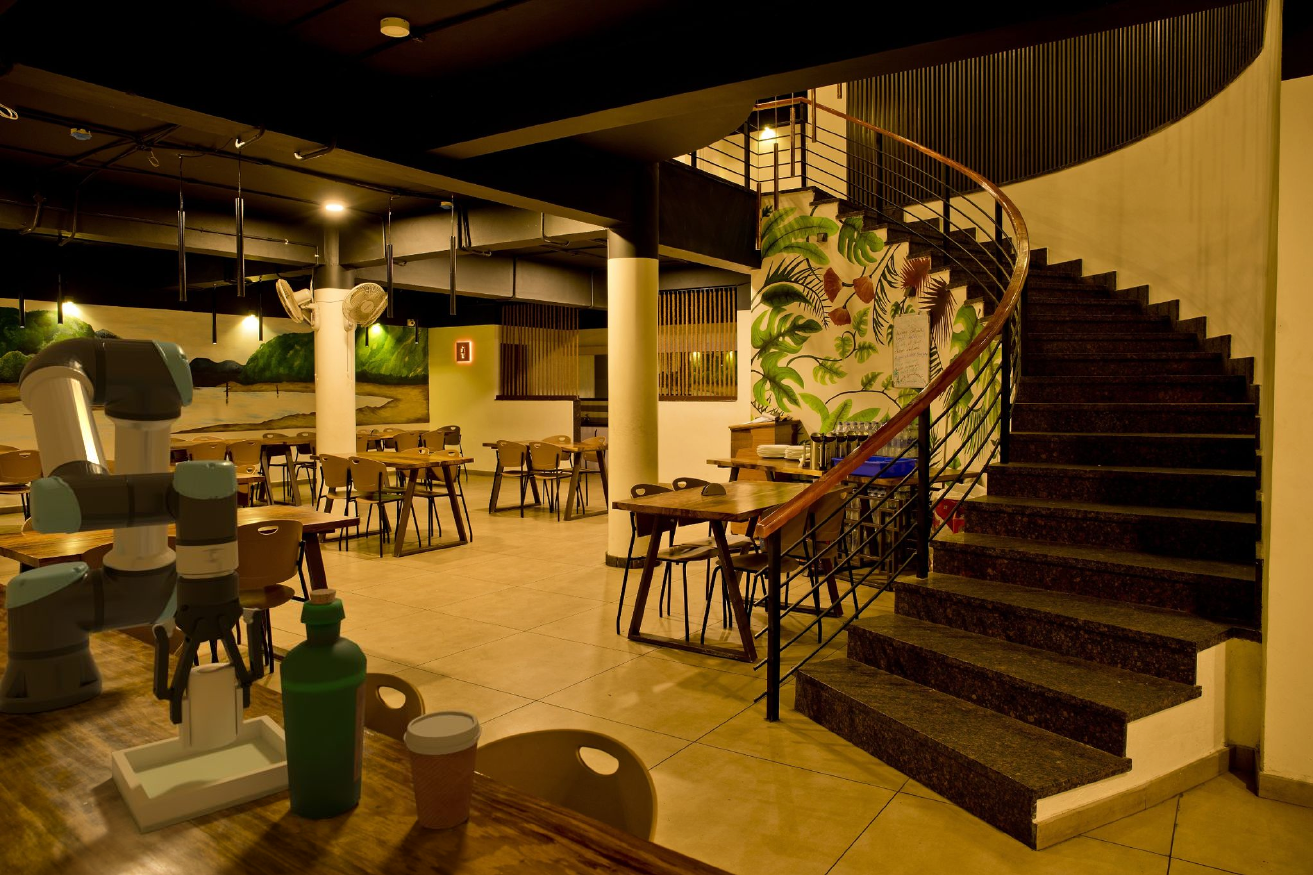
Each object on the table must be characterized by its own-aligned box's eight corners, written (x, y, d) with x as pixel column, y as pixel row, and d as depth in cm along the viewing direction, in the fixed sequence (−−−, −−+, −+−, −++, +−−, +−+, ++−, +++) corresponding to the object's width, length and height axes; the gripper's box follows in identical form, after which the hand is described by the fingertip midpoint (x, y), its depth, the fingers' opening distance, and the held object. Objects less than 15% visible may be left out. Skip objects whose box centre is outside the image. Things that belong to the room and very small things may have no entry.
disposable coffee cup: (462, 840, 96) (461, 741, 95) (389, 832, 98) (388, 735, 97) (494, 802, 105) (493, 711, 105) (427, 795, 107) (426, 706, 107)
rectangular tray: (112, 777, 112) (111, 752, 112) (267, 736, 126) (266, 714, 126) (140, 834, 97) (140, 805, 97) (313, 781, 111) (313, 756, 111)
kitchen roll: (182, 740, 112) (180, 669, 111) (229, 728, 116) (228, 659, 115) (192, 753, 107) (191, 679, 107) (241, 741, 111) (240, 669, 111)
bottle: (386, 793, 108) (384, 586, 107) (329, 832, 98) (326, 604, 97) (322, 780, 111) (319, 580, 110) (261, 818, 101) (257, 597, 100)
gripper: (132, 587, 101) (136, 767, 102) (289, 567, 114) (292, 728, 115) (121, 578, 107) (125, 749, 108) (272, 560, 120) (275, 713, 121)
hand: (211, 738), depth 111 cm, fingers closed on kitchen roll, 6 cm apart
